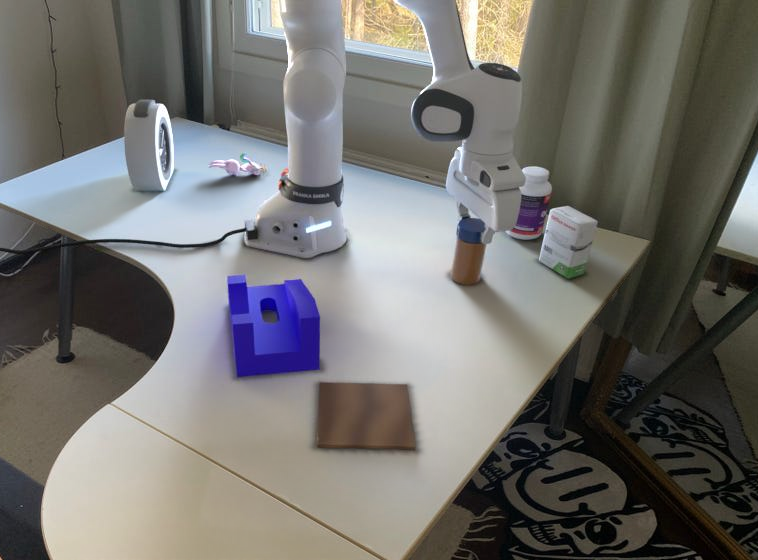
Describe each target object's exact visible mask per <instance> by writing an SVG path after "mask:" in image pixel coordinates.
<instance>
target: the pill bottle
mask: <svg viewBox="0 0 758 560" xmlns="http://www.w3.org/2000/svg"><path fill="white" fill-rule="evenodd" d="M521 170H522V171H523V173H524V174H525V176H526V181H525V185H524V186H523V187H519V188H520V191H521V204H520V210H519V215H518V219H517V223H516V225H515V227H514V228H513V229H512V230H509V231H505V233H506V234H507V235H509V236H510V237H512V238H514V239H518V240H524V241H525V240H534V239H537V238H539V237H540V236H541V235H542V233H543V230H544V225H545V221H546V216H547V212H548V208H549V205H550V201H551V195H552V191H553V186H552V183H550V182H549V181H548V180H549V176H550V171H549V170H548V169H547V168H544V167H540V166H526V167H524V168H522V169H521Z"/></svg>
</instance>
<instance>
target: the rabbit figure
mask: <svg viewBox="0 0 758 560" xmlns="http://www.w3.org/2000/svg"><path fill="white" fill-rule="evenodd" d="M245 156H247V154H246V153H241V154H240V155H239V159H240V161H241V162H243V164H242V166H241V164H240V163H239V161H238V160H236V159H228V160H227V159H226V160H221V159H217V160H216V159H215V160H213V161H211V162H210V163H208V165H207V166H208V168H209V169H210V168H220V169H222V170H225V172H226V173H227V174H231V175H232V176H237V175H239V174H240V171H242V172H243V173H245V174H252V175H254V176H258V175H260V174H261V171H263V173H264V175H266V174H267V167H266V164H264V165H263V164H262V163H259V164H257V163H256V162H252V161H251V160H250V159H249V158H248V157H245Z"/></svg>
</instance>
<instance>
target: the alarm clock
mask: <svg viewBox="0 0 758 560" xmlns="http://www.w3.org/2000/svg"><path fill="white" fill-rule="evenodd" d="M169 115H170V114H169V113H168V109H167V107H166V106H165V104H163V103H156V100H155V99H138V100H137V102H135V103H131V104H130V105H128V107H127V110H126V114H125V118H124V128H123V143H124V154H125V155H124V157H125V163H126V168H127V169H126V170H127V174H128V178H129V180H130V183H131V186H132V187H133V189H134V191H136V192H137V191H139V192H141V191H143V192H144V191H146V192H147V191H149V192H150V191H151V192H154V191H155V192H156V191H157V192H158V191H159V192H161V191H162V192H164V191H166V189H167V188H168V187H167V186H168V184H169V182H170V180H171V178H172V176H173V173H174V167H175V166H174V165H175V161H174V160H175V155H174V152H175V151H174V138H173V131H172V125H171V120H170V116H169Z"/></svg>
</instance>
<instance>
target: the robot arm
mask: <svg viewBox="0 0 758 560" xmlns="http://www.w3.org/2000/svg"><path fill="white" fill-rule="evenodd" d="M392 1H393V2H394V3H396V4H397V5H399V6H401V7H402V8H405V9H407V10H408V11H410V12H411V13H413V14H414V15H415V16H416V18H418V21H420V24H421V25H422V28H423V32H424V35H425V39H426V42H427V47H428V51H429V55H430V59H431V63H432V68H433V75H432V81H431V83H430V84H428V85H427V86H426V87H425V88H424V89H423V90H422V91H421V92H420V93H419V94H418V95H417V96H416V98H414V101H413V103H412V106H411V110H410V117H411V123H412V126H413V127H414V129H415V131H416V133H417V134H418V135H419V136H420V137H422V138H423V139H425V140H427V141H429V142H437V143H447V142H449V143H450V142H451V143H452V142H459V141H460V142H461V141H462V144H461V146H459V147H458V148H457V149H455V151H454V156H453V158H452V159H451V160H450V162H449V167H448V171H447V175H446V181H445V188H446V192H447V193H448V194H449V195H450V196H451V197H453V198H454V199H455V200H456V208H457V213H458V217H457V223H458V222H459V221H460V220H462V219H465V218H471V215H470V214H469V211H470V212H471V213H472V214H473V215H474V216H475V217H476V218H478V219H481V220H482V221H483V222H484V223H485V226H484V227H485V228H486V229H485V231H484V232H482V233H480V239H479V240H480V241H481V242H482V243H483V244H486V245H489V244H491V243H493V236H494V235H495V234H496V233H503V232H506V231H509V230H512V229H513V228H514V227H515V225H516V223H517V219H518V215H519V210H520V204H521V191H520V188H519V187H523V186H524V185H525V181H526V176H525V174H524V173H523V171H522V170H523V169H522V168H521V167H520V165H519V163H518V162H517V160H516V157H515V156H514V154H513V152H514V149H515V147H514V146H515V144H514V143H515V142H514V133H515V131H516V129H517V127H518V124H519V119H520V114H521V108H522V101H523V99H522V98H523V82H522V81H523V80H522V78H521V76H520V74H519V73H518V72H517V71H516V70H515V69H513V68H512V67H510V66H507V65H505V64H502V63H498V62H483V63H480V64H478V65H477V66H476V67H474V65H473V63H472V61H471V59H470V56H469V53H468V52H469V51H468V49H467V48H468V47H467V44H466V40H465V39H466V38H465V35H464V30H463V26H462V21H461V17H460V12H459V8H458V3H457V0H392ZM278 3H279V13H280V14H279V15H280V18H281V21H282V25H283V30H284V37H285V41H286V46H287V55H288V68H287V71H286V72H285V75H284V77H283V81H282V82H283V84H282V90H283V92H282V93H283V105H284V107H283V108H284V119H285V127H286V136H287V161H288V163H287V167H288V168H284V169H283V170H282V172H281V173H280V177H279V180H278V181H279V183H277V184H278V191H277V192H276V193H274V194H273V195H271V196H270V197H268V198H266V199H265V200H264V201H263V202H262V203H261V204H260V205H259V207H258V208H257V211H256V214H255V218H254V219H248V220H246V219H245V220H244V227H243V228H237V229H234V230H230V231H227V232H226V233H224V235H222V236H221V237H220V238H218V239H214V240H212V241H209V242H203V243H201V242H200V243H171V242H164V241H154V240H145V239H144V240H143V239H131V238H129V239H128V238H96V239H86V240H84V239H83V240H76V241H68V242H63V243H55V244H51V245H45V246H41V247H36V248H29V249H23V250H22V249H21V250H18V249H11V248H6V247H0V252H4V253H9V254H14V255H26V254H32V253H39V252H43V251H49V250H53V249H59V248H65V247H71V246H79V245H87V244H104V243H105V244H106V243H121V244H122V243H124V244H140V245H150V246H151V245H152V246H161V247H168V248H177V249H192V248H203V247H205V248H206V247H211V246H214V245H217V244H220V243H222V242H224V241H225V240H226V239H227V238H228V237H230V236H232V235H236V234H240V233H244V239H243V241H244V243H245V245H246V246H247V247H249V248H250V247H251V248H255V249H260V250H265V251H269V252H273V253H279V254H284V255H289V256H293V257H298V258H302V259H311V258H313V257H315V256H317V255H320V254H323V253H324V254H325V253H328V252H332V251H335V250H338V249H339V248H341V247H343V246H344V245H345V244H346V243H347V240H348V236H347V232H346V228H345V223H344V217H343V203H344V193H345V183H344V175H343V173H342V172H343V145H344V144H343V141H344V138H343V137H344V136H343V135H344V134H343V131H344V130H343V111H344V110H343V107H344V106H343V105H344V104H343V103H344V102H343V101H344V90H345V89H344V88H345V82H346V77H347V57H346V56H347V55H346V46H345V45H346V44H345V32H344V30H345V29H344V20H343V9H342V0H278Z"/></svg>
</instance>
